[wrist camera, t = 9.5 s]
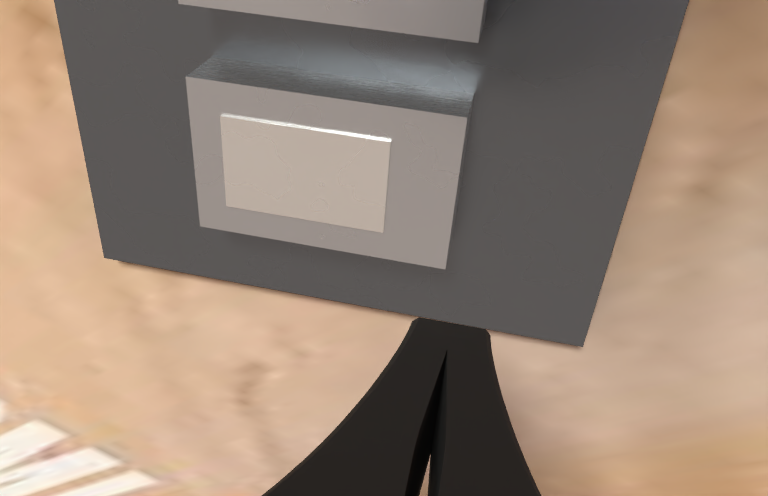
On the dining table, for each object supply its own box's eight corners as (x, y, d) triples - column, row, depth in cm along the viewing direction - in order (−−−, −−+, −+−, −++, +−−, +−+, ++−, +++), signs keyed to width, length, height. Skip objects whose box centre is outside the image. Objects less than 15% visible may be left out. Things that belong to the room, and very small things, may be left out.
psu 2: (474, 93, 20) (466, 119, 18) (452, 238, 23) (444, 271, 21) (211, 56, 21) (183, 77, 19) (222, 199, 24) (198, 228, 22)
